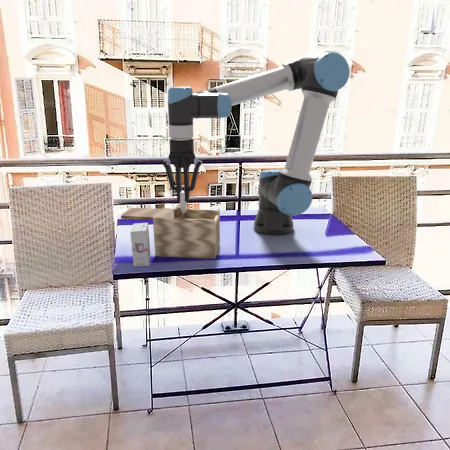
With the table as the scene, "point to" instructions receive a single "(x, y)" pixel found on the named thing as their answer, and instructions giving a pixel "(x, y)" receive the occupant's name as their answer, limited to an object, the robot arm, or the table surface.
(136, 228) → the ink box
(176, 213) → the lid
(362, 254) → the table surface
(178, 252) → the box
